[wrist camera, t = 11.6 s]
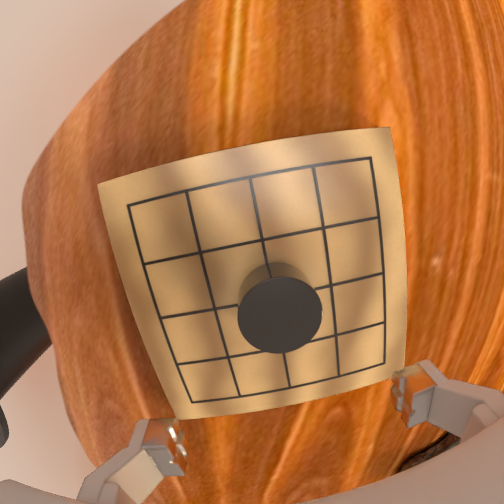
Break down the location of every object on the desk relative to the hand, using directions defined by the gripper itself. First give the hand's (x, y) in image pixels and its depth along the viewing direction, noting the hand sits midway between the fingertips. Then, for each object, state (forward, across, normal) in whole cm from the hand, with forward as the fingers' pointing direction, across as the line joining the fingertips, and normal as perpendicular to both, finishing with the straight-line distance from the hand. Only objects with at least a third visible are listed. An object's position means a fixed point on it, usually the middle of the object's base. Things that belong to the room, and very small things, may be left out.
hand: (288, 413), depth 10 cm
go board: (+12, -1, 0) cm, 12 cm away
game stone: (+11, -1, 0) cm, 11 cm away
